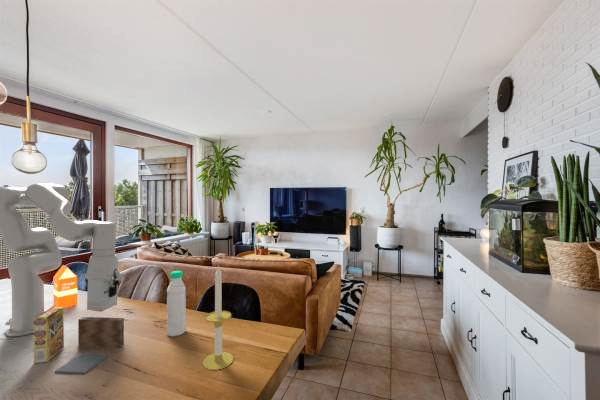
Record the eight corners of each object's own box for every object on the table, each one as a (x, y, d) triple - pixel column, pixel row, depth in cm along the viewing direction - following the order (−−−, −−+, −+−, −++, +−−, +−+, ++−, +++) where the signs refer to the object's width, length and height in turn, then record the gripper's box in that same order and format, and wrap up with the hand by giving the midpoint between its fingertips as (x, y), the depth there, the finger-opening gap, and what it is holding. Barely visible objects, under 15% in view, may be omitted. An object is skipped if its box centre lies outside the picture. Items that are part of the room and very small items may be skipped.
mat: (54, 372, 85) (54, 370, 85) (82, 354, 95) (82, 352, 95) (85, 373, 84) (85, 372, 84) (109, 355, 94) (109, 353, 94)
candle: (222, 349, 98) (222, 260, 98) (239, 360, 92) (239, 264, 92) (196, 362, 91) (196, 265, 90) (213, 374, 84) (213, 270, 84)
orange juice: (72, 300, 145) (72, 263, 145) (77, 304, 140) (77, 265, 140) (52, 305, 139) (52, 266, 139) (57, 309, 134) (57, 269, 134)
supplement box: (101, 312, 106) (102, 280, 106) (86, 310, 107) (87, 278, 107) (117, 305, 113) (118, 274, 113) (103, 303, 115) (104, 273, 115)
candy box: (48, 362, 91) (48, 316, 91) (32, 363, 90) (32, 317, 90) (64, 348, 99) (64, 306, 99) (50, 349, 98) (50, 307, 98)
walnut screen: (78, 346, 100) (78, 319, 100) (83, 343, 102) (83, 316, 102) (119, 347, 99) (119, 320, 99) (123, 344, 101) (123, 318, 101)
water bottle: (189, 330, 112) (189, 270, 112) (175, 338, 106) (175, 274, 106) (177, 327, 115) (177, 268, 115) (162, 334, 109) (162, 272, 109)
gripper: (75, 253, 107) (74, 297, 107) (117, 255, 106) (116, 300, 106) (91, 249, 114) (90, 291, 115) (131, 251, 113) (129, 293, 114)
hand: (102, 295), depth 110 cm, fingers closed on supplement box, 7 cm apart
